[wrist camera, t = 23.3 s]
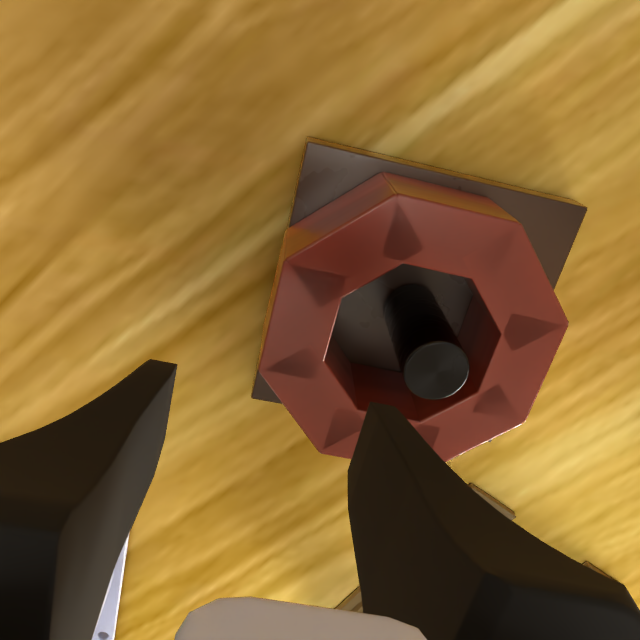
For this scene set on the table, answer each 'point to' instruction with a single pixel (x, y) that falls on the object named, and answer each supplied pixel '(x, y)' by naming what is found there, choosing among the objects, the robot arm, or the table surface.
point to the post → (418, 270)
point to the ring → (376, 260)
